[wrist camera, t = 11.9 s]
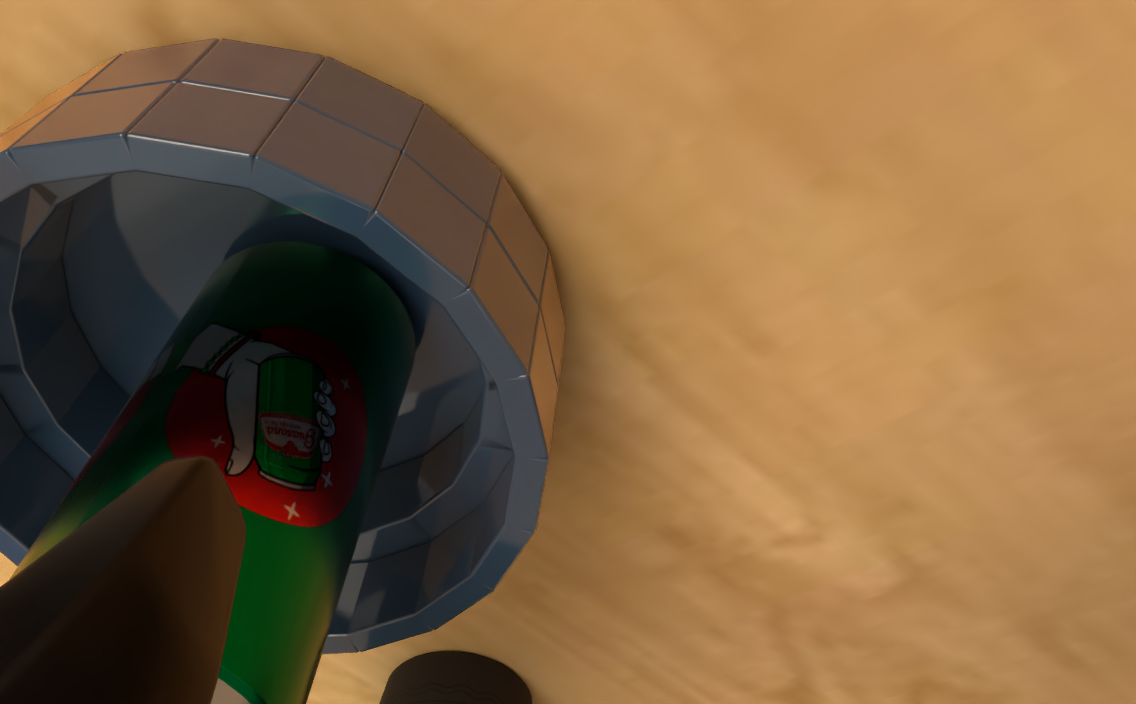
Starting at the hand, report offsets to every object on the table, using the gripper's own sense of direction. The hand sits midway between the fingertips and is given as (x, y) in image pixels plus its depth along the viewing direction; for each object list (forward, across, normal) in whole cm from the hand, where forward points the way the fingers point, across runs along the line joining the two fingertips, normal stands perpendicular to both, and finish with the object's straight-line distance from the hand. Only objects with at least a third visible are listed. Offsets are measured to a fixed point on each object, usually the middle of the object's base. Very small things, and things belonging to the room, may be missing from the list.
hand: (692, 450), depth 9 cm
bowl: (+13, +10, +6) cm, 17 cm away
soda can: (+13, +9, +6) cm, 17 cm away
